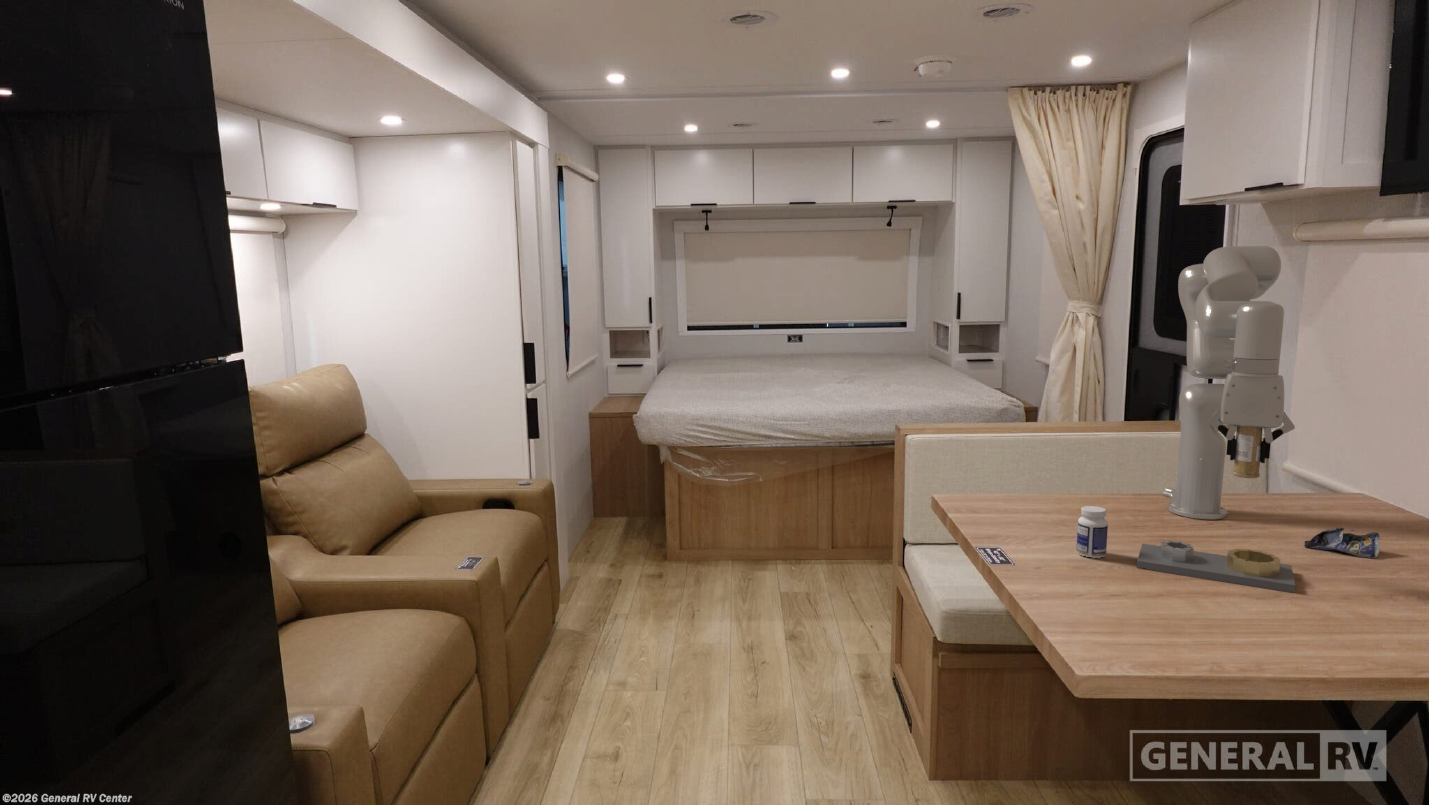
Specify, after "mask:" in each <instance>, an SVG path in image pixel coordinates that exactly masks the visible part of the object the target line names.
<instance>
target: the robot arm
mask: <svg viewBox="0 0 1429 805" xmlns="http://www.w3.org/2000/svg"><path fill="white" fill-rule="evenodd" d="M1281 270H1282V260H1281V257H1280V254H1279V253H1278V251H1277V250H1275V248H1273V247H1271V246H1267V245H1247V246H1246V245H1245V246H1244V245H1242V246H1239V245H1238V246H1234V245H1233V246H1222V247H1218V248H1216V249H1213V250H1212V251H1210V252H1209V253H1208V254H1207V255H1206V257H1204V260H1203V263H1198V264H1192V265H1190V266H1187V267H1185V268H1184V269H1182V270H1181V272H1180V274H1179V276H1178V281H1177V282H1178V284H1177V286H1178V287H1177V288H1178V297H1179V302H1180V305H1181V308H1182V310H1183V313H1184V316H1185V320H1186V366H1187V367H1186V368H1187V371H1188V373H1189V375H1191V376H1192V377H1194V378H1198V379H1209V380H1210V379H1212V380H1213V379H1214V380H1225V381H1224V383H1205V382H1204V383H1193V384H1190V385H1187V386H1185V387H1184V388H1183V389H1182V390H1181V392H1180V393H1179V398H1178V405H1179V416H1180V418H1179V419H1180V439H1179V452H1178V453H1179V454H1178V464H1177V465H1178V466H1177V476H1176V478H1177V479H1176V489H1174V488H1170V487H1166V488H1165V489H1164V491H1163V492H1162V497H1165V498H1170V499H1171V501H1170V502H1169V503H1168V504H1167V510H1168V511H1169V512H1171V513H1172V514H1175V515H1179V516H1182V517H1185V518H1191V519H1199V520H1222V519H1225V518H1226V517H1228V510H1227V509H1226V508H1224V507H1223V506H1222V504H1221V503H1222V492H1223V483H1224V482H1223V481H1224V474H1225V473H1224V471H1225V462H1226V461H1225V458H1226V456H1229V461H1234V458H1235V447H1236V434H1235V433H1237V426H1245V427H1258V428H1263V434H1264V437H1262V447H1261V458H1260V464H1265V463H1266V459H1270V453H1271V444H1272V443H1273V442H1274V441H1275V440H1277V439H1279V438H1280V437H1282V436H1283V435H1284V434H1286V433H1289V432H1291V431H1293V430H1295V425H1294V423H1293V422H1292V419H1290V417H1289V416H1288V415H1287V414H1286V412H1285V383H1284V382H1285V381H1284V376H1283V375H1280V374H1279V372H1280V371H1279V370H1280V361H1281V349H1282V348H1281V347H1282V342H1283V341H1282V338H1283V331H1284V330H1283V328H1284V318H1285V309H1284V307H1283V305H1281V304H1279V303H1276V302H1273V301H1266V300H1265V301H1264V300H1256V299H1258V298H1260V297H1262V296H1264V295H1265V293H1266V292H1267V291H1268V290H1269V289H1270V288H1271V287H1272V286H1273V285H1275V283H1276V282H1277V280H1278V279H1279V276H1280V274H1281V272H1282V271H1281ZM1226 425H1227V426H1228V427H1227V426H1226ZM1272 429H1275V430H1273V431H1272ZM1224 437H1225V438H1226V440H1227V443H1226V441H1225V438H1224Z"/></svg>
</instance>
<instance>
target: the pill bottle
mask: <svg viewBox="0 0 1429 805" xmlns="http://www.w3.org/2000/svg"><path fill="white" fill-rule="evenodd" d="M1080 514H1081V516H1080V517H1079V518H1078V520H1077V531H1076V532H1077V533H1076V550H1075V551H1076V553H1077V555H1079V556H1080V555H1083V556H1086V557H1085V558H1087V557H1093V558H1092V559H1095V558H1097V559H1102V558H1101V557H1103V558H1104V557H1106V556H1107V547H1108V546H1107V545H1108V528H1109V527H1108V526H1109V523H1108V521H1107V519H1105V518H1106V517H1107V510H1106V508H1105V507H1100V506H1096V505H1095V506H1094V505H1093V506H1092V505H1086V506H1082V507H1081V509H1080ZM1083 556H1082V557H1083Z"/></svg>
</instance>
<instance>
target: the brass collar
mask: <svg viewBox="0 0 1429 805" xmlns="http://www.w3.org/2000/svg"><path fill="white" fill-rule="evenodd" d="M1226 556H1227V565H1226V566H1227V567H1228V568H1230V569H1231V570H1233V571H1236V572H1239V573H1242V574H1245V575H1251V576H1257V577H1273V576H1277V575H1279V569H1280V564H1281V558H1280V557H1278V556H1276V555H1275V554H1272V553H1268V552H1265V551H1261V550H1257V549H1256V550H1255V549H1250V548H1249V549H1248V548H1233V549H1231V550H1230V549H1229V550H1228V551H1227V555H1226Z"/></svg>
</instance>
